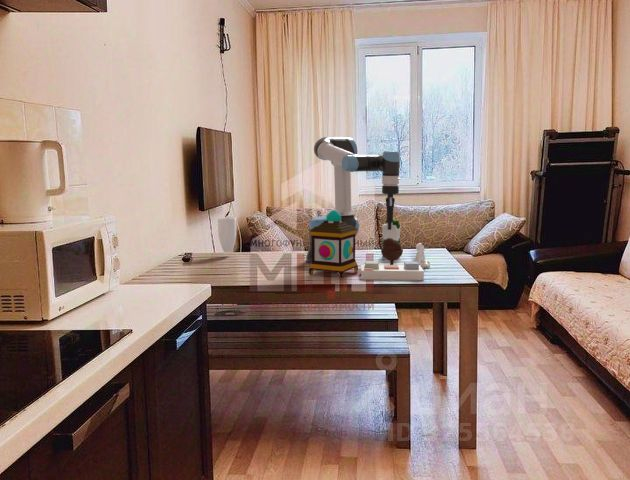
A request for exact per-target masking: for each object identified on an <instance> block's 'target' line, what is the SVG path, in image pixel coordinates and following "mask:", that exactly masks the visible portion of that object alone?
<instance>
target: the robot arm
mask: <svg viewBox="0 0 630 480" xmlns="http://www.w3.org/2000/svg"><path fill="white" fill-rule="evenodd" d="M313 153H314V155H315V156H316V158H317V159H320V160H322V161H330V162H331V163H330V164H331V165H332V166H333V169H334V170H333V171H334V172H333V175H334V210H335V211H337V212H338V213H339V214H340V215H341V220H344V222H346V223H347V224H348V225H352V226H354V227H355V228H356V229H357V232H356V235H355V238H356V237H357V235H358V233H359V229H360V224H359V219H358V217H355V214H354V211H352V176H351V175H352V173H355V172H357V173H358V172H382V176H381V177H382V178H381V184H382V185H381V194H383V195H387V197H385V207H386V218H385V219H386V221H384V222H385V223H384V224H386V237H392V226H393V223H392V222H394V221H395V220H394V208H395V201H396V200H395V199H396V198H395V197H394V195H398V194H399V191H400V190H399V189H400V186H399V184H400V180H401V178H400V166H401V165H400V164H401V162H400V161H401V157H400V152H399V151H398V150H384V151H383V152H382V154H358V146H357V142H356V141H355V140H354V138H352V137H346V136H324V137H321V138H319V139H318V140H317V141H316V142H315V144H314V146H313ZM326 217H327V215H324V216H322V215H321V216H320V215H319V216H316V217H312V218H311V219H310V220H309V222H308V223H309V225H308V231H309V233H308V235H309V240H308V241H309V243H308V244H309V245H308V247H309V248H308V250H307V253H306V256H305V257H306V258H305V261H306V262H307V263H310V264H311V263H312V236H311V234H310V231H311V229H313V228H314V227H316V226H319V225H321V223H323V222H324V221H325V220H326Z"/></svg>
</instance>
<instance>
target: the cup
mask: <svg viewBox="0 0 630 480" xmlns="http://www.w3.org/2000/svg"><path fill="white" fill-rule="evenodd" d="M217 233H218V239H219V243H220V246H221V248H222V250H223V252H224V253H231V252H233V250H234V247H235V244H236V238H237V217H233V216H224V217H223V216H221V217H218V218H217Z"/></svg>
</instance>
